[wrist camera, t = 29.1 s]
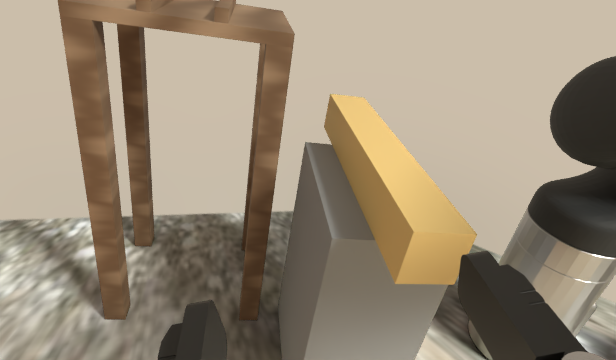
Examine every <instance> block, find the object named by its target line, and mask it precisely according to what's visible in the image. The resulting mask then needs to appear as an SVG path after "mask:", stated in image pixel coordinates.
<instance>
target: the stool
mask: <svg viewBox="0 0 616 360" xmlns="http://www.w3.org/2000/svg"><path fill="white" fill-rule="evenodd" d="M58 5H59V12H60V19H61V26H62V32H63V39H64V45H65V53H66V58H67V59H66V60H67V66H68V73H69V80H70V86H71V93H72V100H73V107H74V113H75V120H76V127H77V134H78V140H79V147H80V154H81V161H82V167H83V173H84V180H85V187H86V194H87V201H88V208H89V214H90V221H91V228H92V235H93V242H94V248H95V255H96V262H97V269H98V275H99V282H100V289H101V296H102V302H103V309H104V316H105V319H126V316H127V313H128V310H129V307H130V296H129V286H128V275H127V265H126V255H125V245H124V235H123V225H122V215H121V206H120V196H119V185H118V175H117V165H116V154H115V144H114V135H113V124H112V114H111V104H110V94H109V85H108V74H107V65H106V54H105V43H104V33H103V23H102V22H109V23H117V30H118V41H119V42H118V43H119V55H120V67H121V79H122V92H123V103H124V116H125V128H126V140H127V153H128V165H129V176H130V189H131V201H132V213H133V226H134V238H135V246H151V245H152V242H153V239H154V219H153V200H152V180H151V160H150V140H149V120H148V101H147V80H146V61H145V40H144V27H146V28H153V29H160V30H167V31H175V32H182V33H189V34H196V35H204V36H211V37H218V38H225V39H233V40H240V41H247V42H254V43H260V51H259V63H258V73H257V85H256V95H255V107H254V117H253V128H252V140H251V150H250V163H249V173H248V184H247V195H246V206H245V217H244V228H243V239H242V250H245V257H244V268H243V278H242V288H241V299H240V313H239V320H257V317H258V310H259V302H260V294H261V287H262V279H263V271H264V264H265V256H266V249H267V241H268V233H269V226H270V218H271V210H272V203H273V195H274V188H275V180H276V172H277V165H278V156H279V149H280V141H281V134H282V127H283V119H284V111H285V103H286V96H287V88H288V80H289V73H290V65H291V58H292V50H293V42H294V35H295V34H294V32H293V30H292V28H291V26H290V25H289V23H288V21H287V19H286V17H285V15H284V13H283V11H279V10H272V9H266V8H259V7H253V6H246V5H240V4H236V0H220V1H213V0H58Z"/></svg>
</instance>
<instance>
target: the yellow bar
mask: <svg viewBox="0 0 616 360" xmlns="http://www.w3.org/2000/svg"><path fill="white" fill-rule="evenodd" d="M324 128H325V130H326V132H327V134H328V137H329V139H330V141H331V143H332V145H333V148H334V150H335V152H336V154H337V157H338V159H339V161H340V163H341V165H342V168H343V170H344V172H345V174H346V176H347V179H348V181H349V183H350V185H351V187H352V190H353V192H354V194H355V196H356V199H357V201H358V203H359V205H360V207H361V210H362V212H363V214H364V216H365V218H366V221H367V223H368V225H369V227H370V229H371V232H372V234H373V236H374V238H375V241H376V243H377V245H378V247H379V249H380V252H381V254H382V256H383V258H384V260H385V263H386V265H387V267H388V269H389V271H390V274H391V276H392V278H393V280H394V283H395V284H444V285H454V284H455V281H456V279H457V277H458V275H459V270H460V261H461V256H462V255H465V254H468V253H469V251H470V249H471V247H472V245H473V243H474V240H475V238H476V236H477V234H476V232H475V231H474V230H473V229H472V228H471V226H470V225H469V224H468V223H467V222H466V220H465V219H464V218H463V217H462V216H461V215H460V213H459V212H458V211H457V210H456V208H455V207H454V206H453V205H452V203H451V202H450V201H449V200H448V199H447V197H446V196H445V195H444V194H443V193H442V191H441V190H440V189H439V188H438V186H437V185H436V184H435V183H434V182H433V181H432V179H431V178H430V177H429V176H428V174H427V173H426V172H425V171H424V170H423V169H422V167H421V166H420V165H419V164H418V162H417V161H416V160H415V159H414V157H413V156H412V155H411V154H410V153H409V151H408V150H407V149H406V148H405V147H404V145H403V144H402V143H401V142H400V141H399V139H398V138H397V137H396V136H395V135H394V133H393V132H392V131H391V130H390V128H389V127H388V126H387V125H386V124H385V122H384V121H383V120H382V119H381V118H380V116H379V115H378V114H377V113H376V112H375V110H374V109H373V108H372V107H371V106H370V104H369V103H368V102H367V101H366V99H365V98H362V97H353V96H345V95H336V94H330V99H329V104H328V109H327V114H326V119H325V125H324Z"/></svg>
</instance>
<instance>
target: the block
mask: <svg viewBox="0 0 616 360" xmlns="http://www.w3.org/2000/svg"><path fill="white" fill-rule="evenodd" d="M447 287H448V285H444V284H395V283H394V280H393V278H392V276H391V274H390V271H389V269H388V267H387V265H386V263H385V260H384V258H383V256H382V254H381V252H380V249H379V247H378V245H377V243H376V241H375V238H374V236H373V234H372V232H371V229H370V227H369V225H368V223H367V221H366V218H365V216H364V214H363V212H362V210H361V207H360V205H359V203H358V201H357V199H356V196H355V194H354V192H353V190H352V187H351V185H350V183H349V181H348V179H347V176H346V174H345V172H344V170H343V168H342V165H341V163H340V161H339V159H338V157H337V154H336V152H335V150H334V148H333V145H330V144H319V143H307V142H305V147H304V153H303V159H302V165H301V171H300V177H299V184H298V190H297V196H296V201H295V207H294V213H293V219H292V225H291V231H290V238H289V244H288V250H287V256H286V262H285V268H284V274H283V280H282V286H281V292H280V298H279V304H278V313H279V327H280V341H281V355H282V360H415V358H416V355H417V353H418V351H419V349H420V347H421V344H422V342H423V340H424V338H425V335H426V333H427V331H428V329H429V327H430V324H431V322H432V320H433V318H434V316H435V313H436V311H437V309H438V307H439V305H440V302H441V300H442V298H443V296H444V294H445V291H446V289H447Z"/></svg>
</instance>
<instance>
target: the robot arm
mask: <svg viewBox="0 0 616 360" xmlns="http://www.w3.org/2000/svg"><path fill="white" fill-rule="evenodd" d="M550 125H551V126H550V127H551V132H552V135H553V138H554V139H555V141H556V143H557V145H558V146H559V147H560V148H561V149H562V151H563V152H565V153H566V154H567V155H569V156H570V157H571V158H573V159H575V160H578V161H580V162H582V163H584V164H587V165H591V166H596V168H595V169H593V170H591V171H589V172H587V173H584V174H582V175H579V176H575V177H571V178H566V179H560V180H555V181H551V182H548V183H545V184H543V185H542V186H541V187H540V188H539V189H538V190H537V191H536V193H535V194H534V196H533V198H532V200H531V202H530V204H529V206H528V208H527V210H526V212H525V214H524V215H523V218H522V219H521V221H520V223H519V225H518V227H517V229H516V231H515V233H514V235H513V237H512V239H511V241H510V243H509V244H508V246H507V248H506V250H505V252H504V254H503V256H502V258H501V260H500V262H499V264H498V263H497V261H496V260H495V259H494V257H493V256H492V255H491V254H490V253H489V252H488V251H481V252H476V253H470V254H465V255H462V256H461V261H460V270H459V280H458V294H459V298H460V301H461V304H462V306H463V308H464V310H465V312H466V313H467V315H468V317H469V319H470V320H469V322H468V329H469V334H470V336H471V338H472V340H473V342H474V343H475V345H476V346H477V348H478V349H479V350H480V351H481V352H482V353H483V355H485V356H486V357H487V358H488V359H489V360H606V359H604V358H602V357H600V356H598V355H595V354H592V353H589V352H587V351H586V350H585V349H584V347H583V346H582V345H581V344H580V343H579V342H578V340H577V339H576V338H575V337H576V336H577V334H578V333H579V332H580V330H581V329H582V328H583V326H584V325H585V324H586V322H587V321H588V319H589V318H590V317H591V315H592V314H593V313H594V311H595V310H596V308H597V305H596V303H595V302H596V301H597V300H598V298H599V297H600V295H601V294H602V293H603V291H604V290H605V288H606V287H607V286H608V284H609V283H610V282H611V280H612V279H613V277H614V276H615V275H616V56H615V57H610V58H607V59H604V60H601V61H599V62H596V63H594V64H592V65H590V66H589V67H587V68H585V69H584V70H583V71H581V72H580V73H578V74H577V75H576V76H575V77H573V79H571V80H570V82H568V83H567V84H566V85H565V87H564V88H563V89H562V90H561V92H560V93H559V95H558V96H557V98H556V100H555V102H554V104H553V107H552V110H551V116H550ZM226 355H227V340H226V333H225V330H224V327H223V324H222V322H221V319H220V317H219V314H218V312H217V309H216V307H215V304H214V302H213V301H212V300H208V301H203V302H197V303H192V304H188V305H187V306H186V309H185V314H184V319H183V323H180V324H175V325H172V326H171V327H170V329H169V331H168V332H167V334H166V335H165V337H164V338H163V340H162V342H161V346H160V350H159V354H158V360H226Z"/></svg>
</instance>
